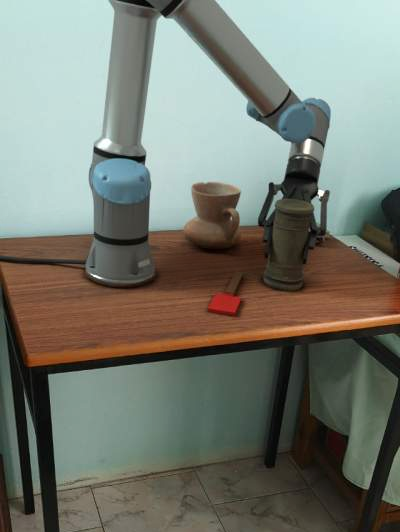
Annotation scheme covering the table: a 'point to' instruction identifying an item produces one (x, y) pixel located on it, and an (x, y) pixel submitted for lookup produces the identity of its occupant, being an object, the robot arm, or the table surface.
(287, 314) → the table surface
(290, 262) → the container
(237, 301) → the red spatula
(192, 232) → the ceramic jug
